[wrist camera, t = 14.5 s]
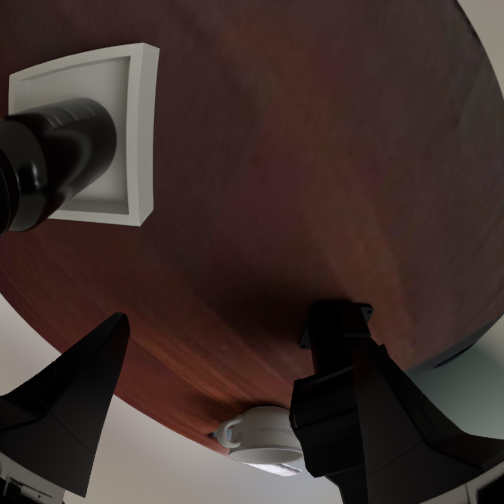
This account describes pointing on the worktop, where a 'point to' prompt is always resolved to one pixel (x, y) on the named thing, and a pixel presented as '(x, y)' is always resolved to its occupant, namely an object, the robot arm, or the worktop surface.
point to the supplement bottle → (51, 158)
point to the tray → (123, 114)
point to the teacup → (261, 437)
